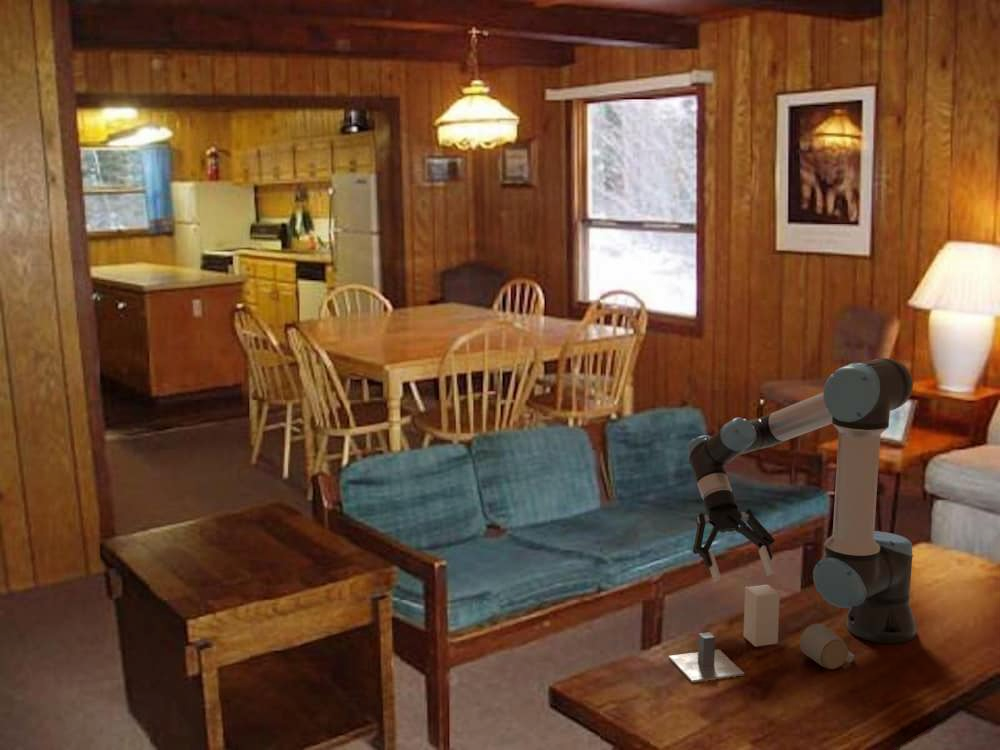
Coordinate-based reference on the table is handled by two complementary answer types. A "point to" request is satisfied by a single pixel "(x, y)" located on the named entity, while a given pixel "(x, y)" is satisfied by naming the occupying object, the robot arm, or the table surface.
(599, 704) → the table surface
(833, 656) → the ceramic mug
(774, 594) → the beige square prism
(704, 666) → the square base plate
